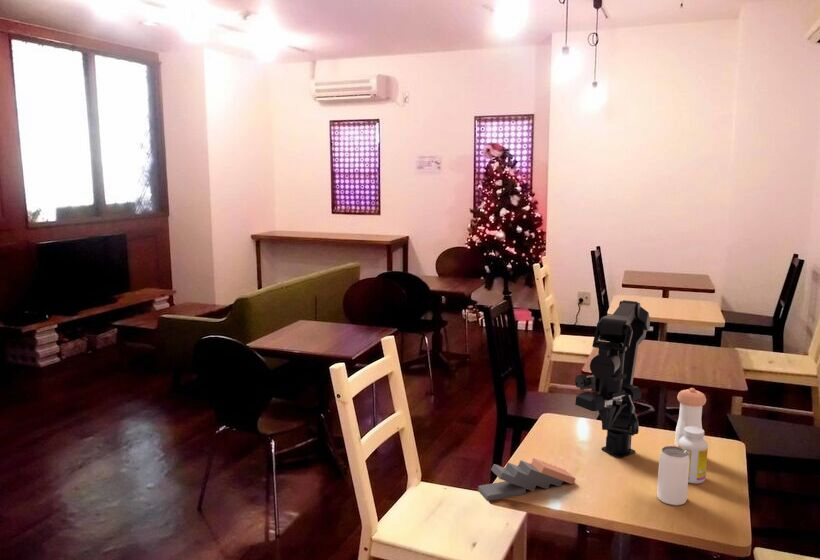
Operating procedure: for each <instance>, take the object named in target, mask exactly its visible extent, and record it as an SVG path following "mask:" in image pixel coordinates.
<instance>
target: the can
mask: <svg viewBox="0 0 820 560" xmlns="http://www.w3.org/2000/svg"><path fill="white" fill-rule="evenodd" d="M658 460H659V461H658V474H657V488H656V489H657V490H656V497H657V499H658V500H659V501H660V502H662V503H663V504H666V505H669V506H674V507H675V506H677V507H678V506H682V505H684V504H686V502H687V499H688V486H689V483H688V476H689V457H688V452H687V451H686V450H685V449H683V448H680V447H675V446H673V445H666V446H664V447H662V448H661V452H660V453H659V459H658Z"/></svg>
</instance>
